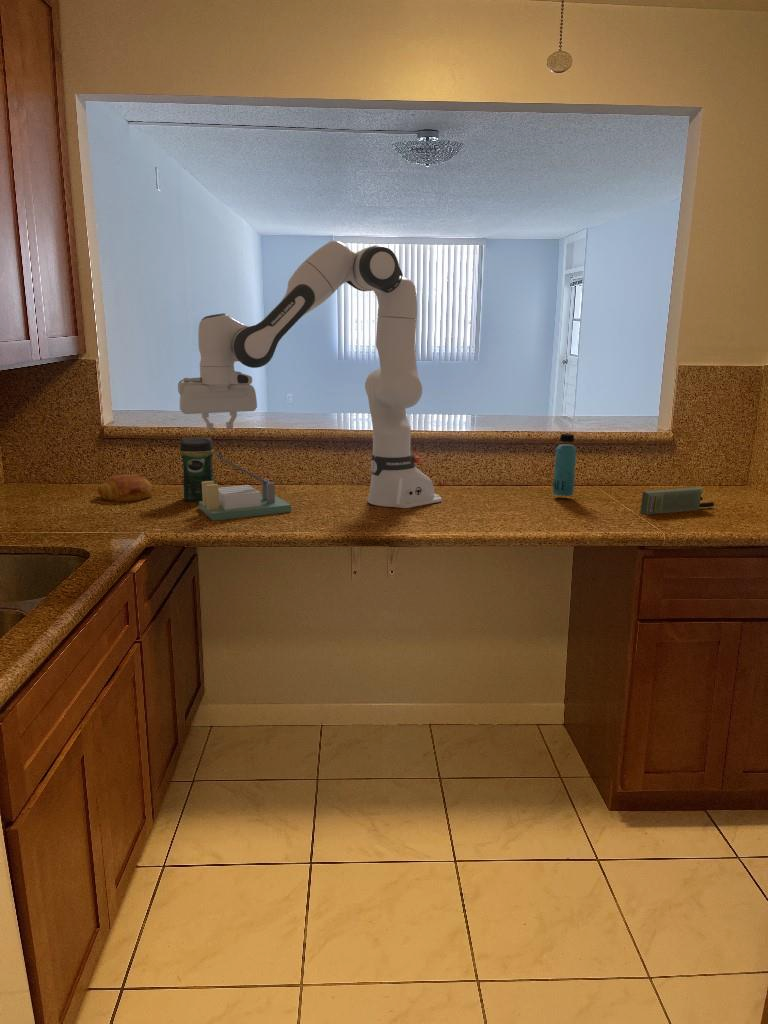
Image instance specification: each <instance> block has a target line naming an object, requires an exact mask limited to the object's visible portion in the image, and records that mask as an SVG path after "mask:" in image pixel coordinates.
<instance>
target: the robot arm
mask: <svg viewBox="0 0 768 1024" xmlns="http://www.w3.org/2000/svg"><path fill="white" fill-rule="evenodd" d="M401 269H402V268H401V267H400V264H399V260H398V258H397V255H396V254H395V252H393V250H392V249H390V248H389V247H387V246H384V245H381V244H380V245H376V244H375V245H372V246H369V247H365V248H362V249H361V250H359V251H356V252H354V251H352V250H351V249H350V248H349V247H348V246H347V245H346V244H345V243H343V242H341V241H338V240H330V241H328V242H326V243H325V244H324V245H322V246H321V247H319V248H318V249H316V250H315V251H314V252H313V253H312V254H311V255H310V256H308V257H307V258H306V259H305V260H304V261H303V262H302V263H301V264H300V265H299V266H298V267H297V268H296V270H295V271H294V273H293V274H292V275H291V277H290V278H289V280H288V282H287V289H286V292H285V294H284V296H283V298H282V299H281V301H280V302H279V303H278V304H277V305H276V306H275V307H274V308H272V310H271V312H269V313H268V314H266V316H265V317H264V318H263V319H262V320H261V321H260V322H258V323H257V324H254V325H251V326H249V325H247V324H244V323H242V322H239V321H238V320H236V319H235V318H233V317H232V316H230V315H229V314H228V313H226V312H225V313H222V312H221V313H217V314H210V315H207V316H204V317H203V318H202V319H201V320H200V321H199V325H198V338H197V339H198V340H197V341H198V351H199V354H200V362H199V374H200V376H199V377H184V378H183V379H180V381H179V382H178V385H177V389H178V390H177V391H178V394H179V410H180V412H181V413H182V414H185V415H191V414H192V415H195V414H197V415H199V414H201V418H202V419H203V421H204V422H205V425H206V430H207V431H213V430H214V423H213V422H210V420H209V417H210V415H209V414H213V413H214V414H215V413H216V414H218V413H229V416H230V418H229V420H228V421H225V428H226V430H233V429H234V422H235V421H236V419H237V417H238V413H239V412H243V413H245V412H255V411H256V409H257V408H258V401H257V393H256V389H255V386H253V384H252V383H253V377H252V376H251V375H249V374H245V373H242V372H241V371H235V362H240V363H241V364H242V365H244V366H246V367H248V368H252V369H253V368H254V369H257V368H261V367H262V368H263V366H266V365H267V364H268V363H270V361H271V360H272V358H273V356H274V354H275V352H276V348H277V346H278V344H279V342H280V340H281V339H282V338H283V337H284V336H285V335H286V334H287V333H288V331H290V330H291V329H292V327H294V325H296V324H297V322H298V321H299V320H301V318H302V317H304V316H305V315H306V314H308V313H309V312H311V311H313V310H314V309H316V308H318V307H320V305H321V304H323V303H324V302H326V301H327V300H328V299H329V298H330V297H331V296H332V295H333V294H334V293H336V291H337V290H338V289H339V288H340V287H341V286H342V285H343V284H345V283H346V284H348V285H349V286H350V287H353V288H354V289H355V290H358V291H361V292H373V293H375V296H376V299H377V305H378V308H377V316H376V317H377V319H376V336H375V347H376V350H377V353H378V360H379V366H380V367H379V368H378V369H375V370H374V371H371V372H370V373H369V374H368V376H367V377H366V379H365V381H364V382H365V383H364V389H365V393H366V395H367V399H368V405H369V413H370V417H371V418H370V419H371V425H372V454H371V459H370V460H371V461H370V462H371V463H370V472H371V478H370V479H371V481H370V486H369V491H368V495H367V499H366V503H369V504H371V505H374V506H378V507H388V508H399V509H400V508H401V509H410V508H415V507H420V506H425V505H430V504H434V503H440V502H442V497H441V495H439V494H437V493H435V489H434V487H435V486H434V483H433V481H432V479H431V478H430V477H428V475H426V474H425V473H423V472H422V471H421V470H420V469H419V468H417V466H416V464H417V465H418V464H421V463H422V461H423V458H422V457H421V456H417V455H416V456H414V455H412V454H411V442H412V441H411V440H412V439H411V435H412V433H411V431H412V429H411V425H410V423H409V420H408V416H407V412H406V409H409V408H413V407H414V406H416V405H417V404H418V403H419V401H420V400H421V398H422V395H423V385H422V383H421V380H420V377H419V375H418V374H419V373H418V372H419V371H418V367H417V359H416V358H417V357H416V335H417V315H418V302H417V289H416V286H415V284H414V282H413V281H412V280H411V279H409V278H408V277H404V276H403V272H402V270H401Z"/></svg>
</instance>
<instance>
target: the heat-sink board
mask: <svg viewBox="0 0 768 1024" xmlns="http://www.w3.org/2000/svg"><path fill="white" fill-rule="evenodd" d="M264 480H265V481H266V480H267V481H269V482H270V480H269V479H264ZM266 484H267V486H266V485H265V484H264V482H262V481H261V491H259V490H258V489H256V488H255V487H253V486H251V485H250V484H244V485H235V486H233V485H232V486H223V487H219V484H218V483H215V484H214V482H213V481H204V482H202V498H203V501H198V508H199V510H201V512H203V514H205V515H206V516H207V517H208V518H209V519H210V520H212V521H215V522H216V521H223V520H230V519H231V520H232V519H241V518H242V519H243V518H250V517H258V516H266V515H267V516H268V515H275V514H284V513H291V512H292V504H290V503H289V502H287V501H285V500H284V499H282V498H280V497H278V496H277V495H276V490H275V482H271V483H266Z"/></svg>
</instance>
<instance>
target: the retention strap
mask: <svg viewBox="0 0 768 1024" xmlns="http://www.w3.org/2000/svg"><path fill="white" fill-rule="evenodd" d="M213 455H215V456H217V459H219V460H221V461H223V462H225V463H226V464H228V465H230V466H232V467H234V468H235V469H237V470H239V471H241V472H243V473H245V474H247V475H249V476H251V477H252V478H254V479H256V480H258V481H260V482H261V483H262V482H264V484H265V485H266V486H267V484H266V483H272V482H271V481H270V480H269V481H267V480H268V479H263V478H260V477H259V476H258V475H255V474H253V473H251V472H250V471H248V470H246V469H243V468H242V467H240V466H238V465H236V464H235V463H233V462H231V461H229V460H227V459H225V458H224V456H223V455H222V454H220V453H218V452H216V451H214V453H213ZM265 480H266V481H265Z"/></svg>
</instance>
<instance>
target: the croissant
mask: <svg viewBox="0 0 768 1024" xmlns="http://www.w3.org/2000/svg"><path fill="white" fill-rule="evenodd" d="M97 492H98V493H97V494H99V496H100V497H101V499H102V500H105V501H106V500H107V501H110V502H112V501H113V502H117V503H120V502H125V503H126V502H134V501H140V500H144V499H148V498H151V497H152V492H153V485H152V483H151V482H150V481H149V480H147V479H146V478H145V477H143V476H142V475H139V474H137V473H124V474H118V475H117V474H116V475H111V476H108V477H107V478H106V479H105V480H104V481H103V482H102V483H101V484H100V485H99V487H98V491H97Z"/></svg>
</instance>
